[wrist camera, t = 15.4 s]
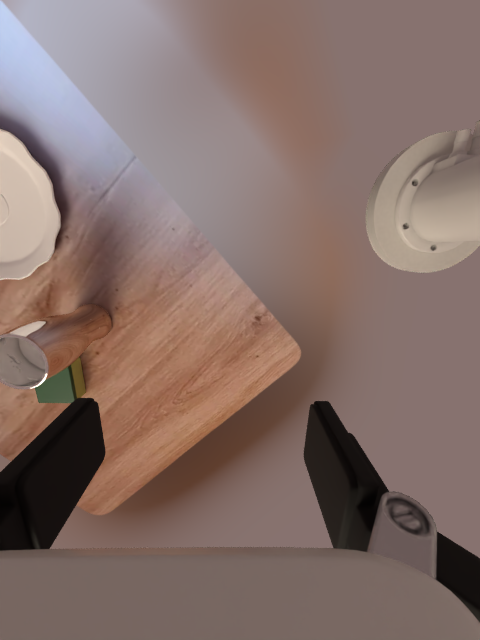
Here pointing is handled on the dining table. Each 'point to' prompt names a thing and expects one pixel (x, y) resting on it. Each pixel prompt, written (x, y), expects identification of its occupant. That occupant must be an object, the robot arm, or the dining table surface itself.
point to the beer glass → (49, 345)
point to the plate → (24, 211)
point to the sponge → (63, 385)
